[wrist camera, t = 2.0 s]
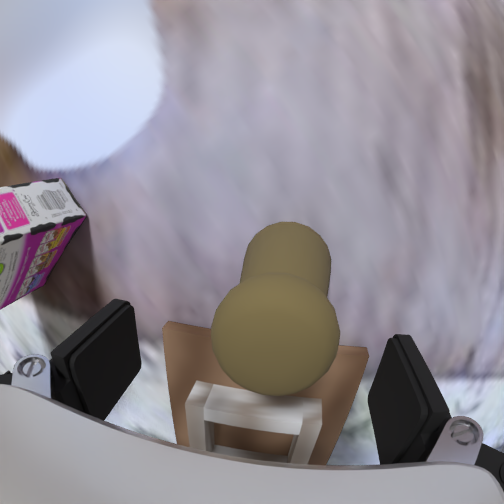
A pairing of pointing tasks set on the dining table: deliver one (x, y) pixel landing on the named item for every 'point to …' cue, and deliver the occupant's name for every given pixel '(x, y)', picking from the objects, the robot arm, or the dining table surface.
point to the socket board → (255, 404)
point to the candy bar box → (34, 234)
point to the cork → (278, 314)
